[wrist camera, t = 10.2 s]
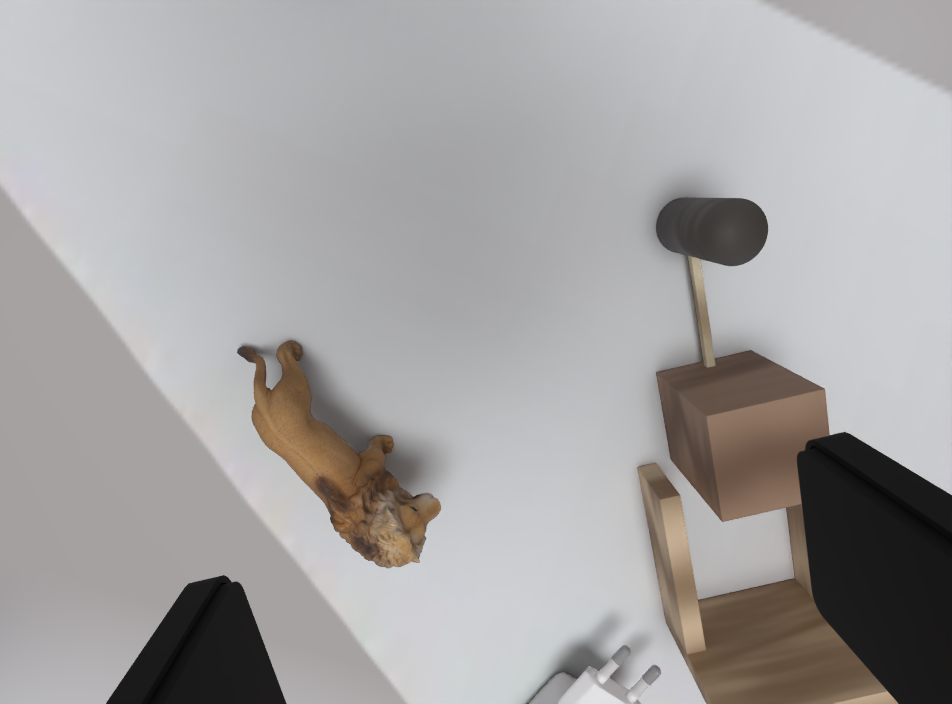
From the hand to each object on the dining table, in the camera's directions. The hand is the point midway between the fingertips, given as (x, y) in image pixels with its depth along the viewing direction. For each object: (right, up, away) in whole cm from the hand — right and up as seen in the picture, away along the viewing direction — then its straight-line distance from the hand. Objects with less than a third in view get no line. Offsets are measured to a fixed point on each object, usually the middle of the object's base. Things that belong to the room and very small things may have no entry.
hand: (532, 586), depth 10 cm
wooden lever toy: (+13, +5, +28) cm, 32 cm away
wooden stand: (+16, -8, +32) cm, 36 cm away
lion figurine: (-9, -1, +29) cm, 31 cm away
